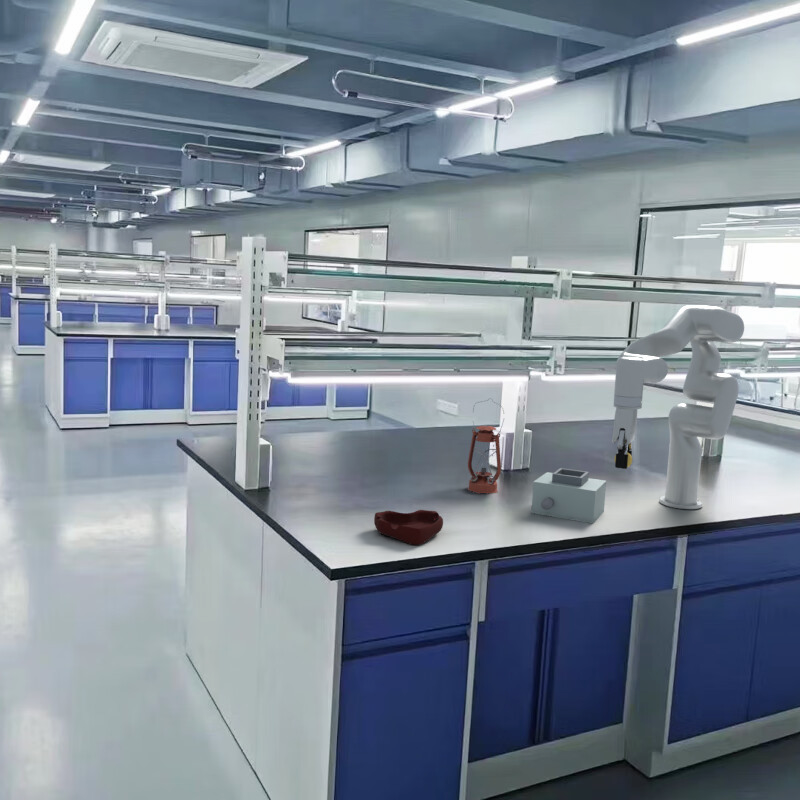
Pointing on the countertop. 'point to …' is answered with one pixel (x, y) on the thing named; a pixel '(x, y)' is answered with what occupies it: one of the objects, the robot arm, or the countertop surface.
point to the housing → (569, 495)
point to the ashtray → (409, 525)
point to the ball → (628, 459)
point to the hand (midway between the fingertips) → (623, 465)
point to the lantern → (483, 479)
